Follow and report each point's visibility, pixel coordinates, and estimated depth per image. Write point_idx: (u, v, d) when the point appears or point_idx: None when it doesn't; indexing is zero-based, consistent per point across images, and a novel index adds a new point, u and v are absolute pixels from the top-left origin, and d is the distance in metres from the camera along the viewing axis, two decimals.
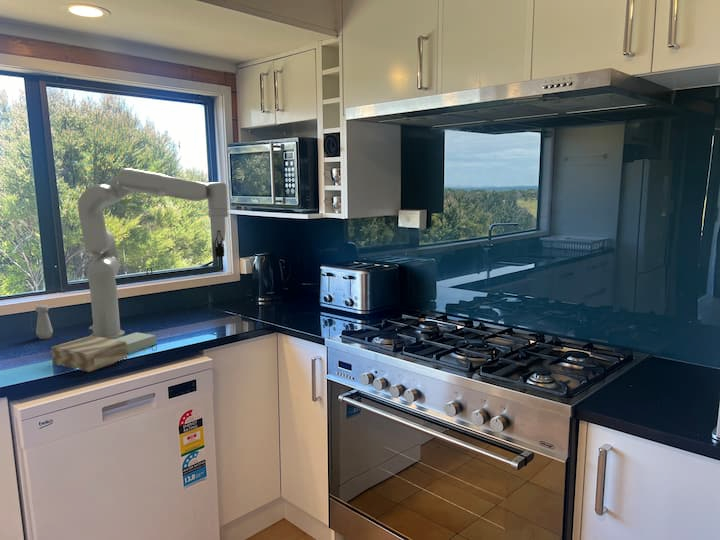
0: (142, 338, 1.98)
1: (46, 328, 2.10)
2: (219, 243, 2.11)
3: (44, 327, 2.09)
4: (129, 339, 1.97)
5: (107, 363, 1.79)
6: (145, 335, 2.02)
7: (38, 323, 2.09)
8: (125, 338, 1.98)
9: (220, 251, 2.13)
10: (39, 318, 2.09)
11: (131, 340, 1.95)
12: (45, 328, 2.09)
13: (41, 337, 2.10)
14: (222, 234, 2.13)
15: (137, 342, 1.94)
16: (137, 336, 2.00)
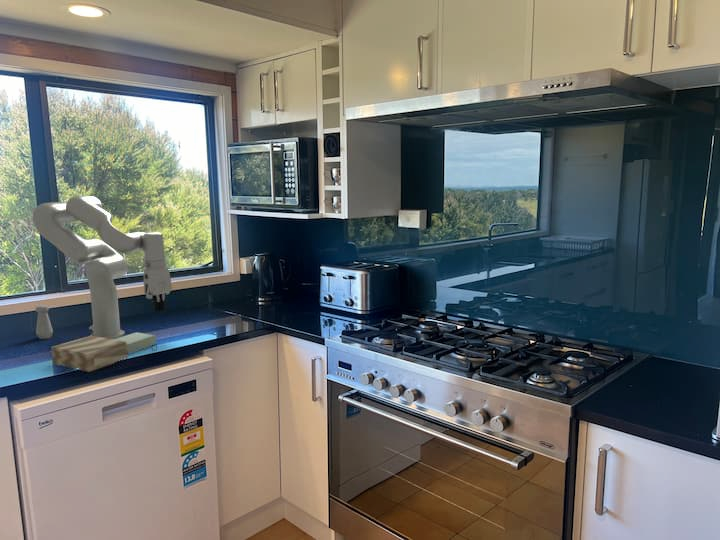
0: (142, 338, 1.98)
1: (46, 328, 2.10)
2: None
3: (44, 327, 2.09)
4: (129, 339, 1.97)
5: (107, 363, 1.79)
6: (145, 335, 2.02)
7: (38, 323, 2.09)
8: (125, 338, 1.98)
9: None
10: (39, 318, 2.09)
11: (131, 340, 1.95)
12: (45, 328, 2.09)
13: (41, 337, 2.10)
14: None
15: (137, 342, 1.94)
16: (137, 336, 2.00)
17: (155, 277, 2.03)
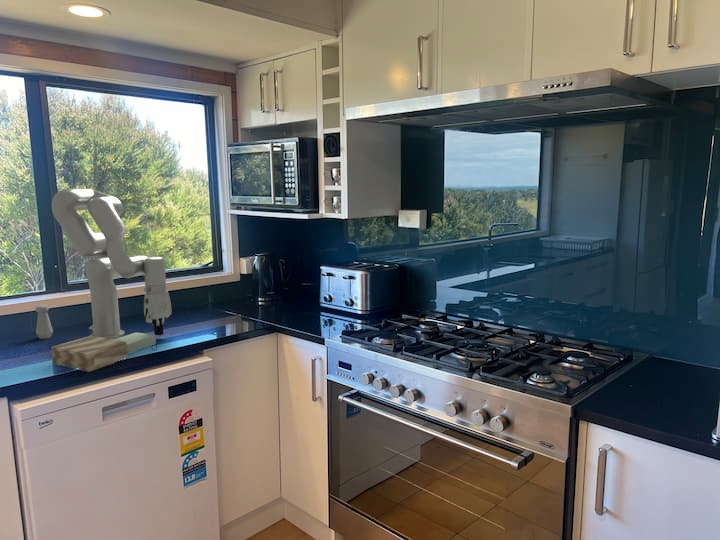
0: (142, 338, 1.98)
1: (46, 328, 2.10)
2: None
3: (44, 327, 2.09)
4: (129, 339, 1.97)
5: (107, 363, 1.79)
6: (145, 335, 2.02)
7: (38, 323, 2.09)
8: (125, 338, 1.98)
9: None
10: (39, 318, 2.09)
11: (131, 340, 1.95)
12: (45, 328, 2.09)
13: (41, 337, 2.10)
14: None
15: (137, 342, 1.94)
16: (137, 336, 2.00)
17: (156, 302, 2.04)
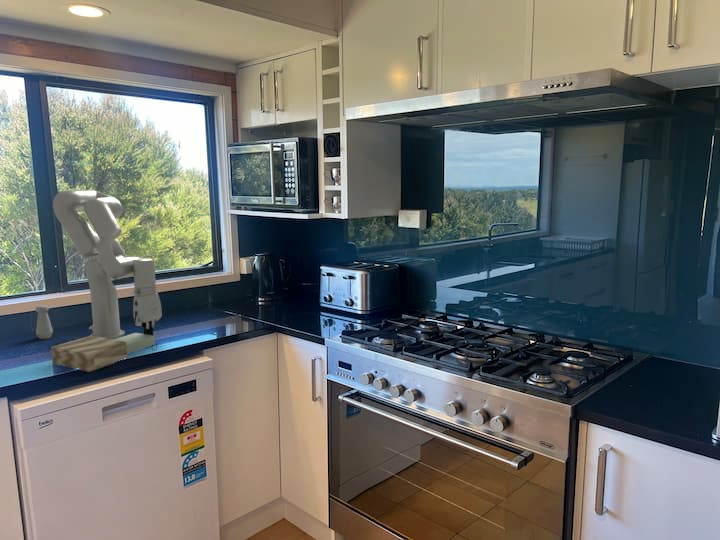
0: (141, 338, 1.97)
1: (46, 328, 2.10)
2: None
3: (44, 327, 2.09)
4: (128, 339, 1.96)
5: (107, 363, 1.79)
6: (144, 335, 2.01)
7: (38, 323, 2.09)
8: (124, 338, 1.97)
9: None
10: (39, 318, 2.09)
11: (130, 340, 1.95)
12: (45, 328, 2.09)
13: (41, 337, 2.10)
14: None
15: (136, 342, 1.94)
16: (136, 336, 2.00)
17: (145, 304, 1.99)
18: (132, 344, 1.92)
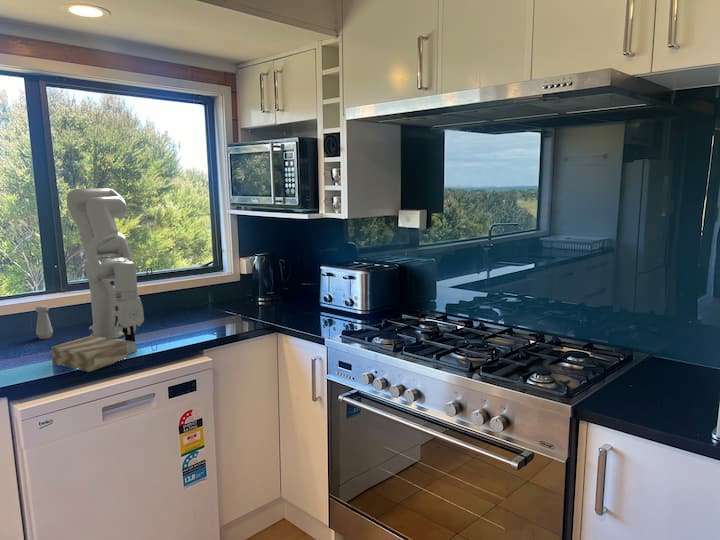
0: None
1: (46, 328, 2.10)
2: None
3: (44, 327, 2.09)
4: None
5: (107, 363, 1.79)
6: None
7: (38, 323, 2.09)
8: None
9: None
10: (39, 318, 2.09)
11: None
12: (45, 328, 2.09)
13: (41, 337, 2.10)
14: None
15: None
16: None
17: (126, 309, 1.92)
18: None
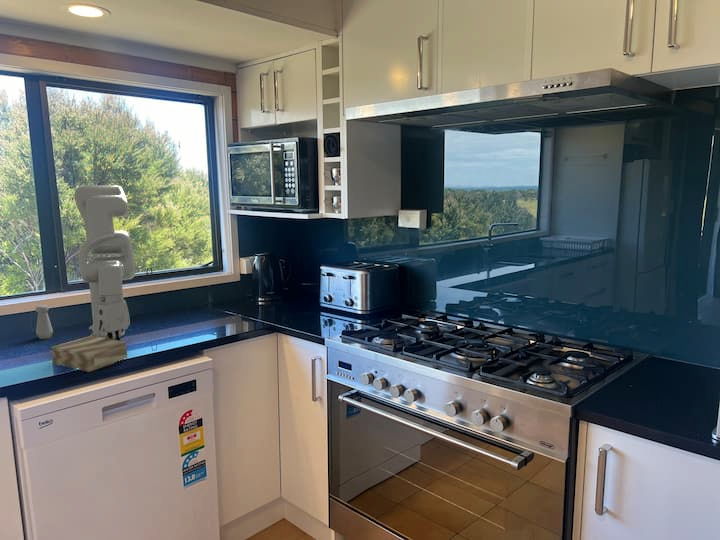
0: None
1: (46, 328, 2.10)
2: None
3: (44, 327, 2.09)
4: None
5: (107, 363, 1.79)
6: None
7: (38, 323, 2.09)
8: None
9: None
10: (39, 318, 2.09)
11: None
12: (45, 328, 2.09)
13: (41, 337, 2.10)
14: None
15: None
16: None
17: (111, 313, 1.86)
18: None
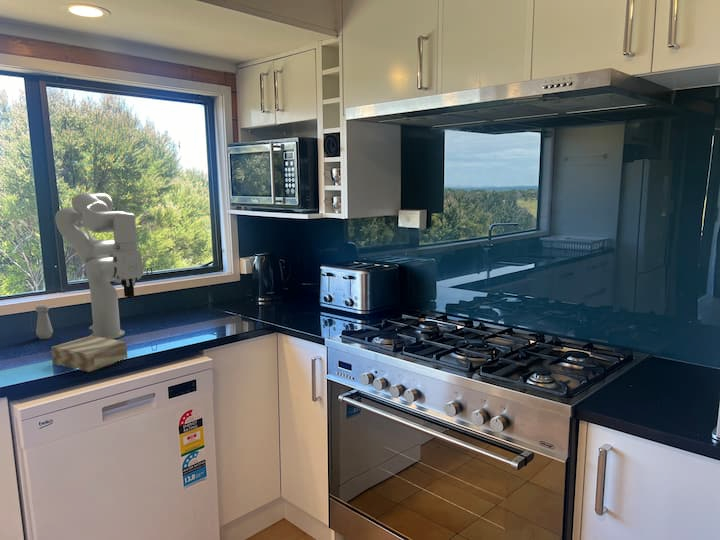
0: None
1: (46, 328, 2.10)
2: None
3: (44, 327, 2.09)
4: None
5: (107, 363, 1.79)
6: None
7: (38, 323, 2.09)
8: None
9: None
10: (39, 318, 2.09)
11: None
12: (45, 328, 2.09)
13: (41, 337, 2.10)
14: None
15: None
16: None
17: (125, 260, 1.90)
18: None
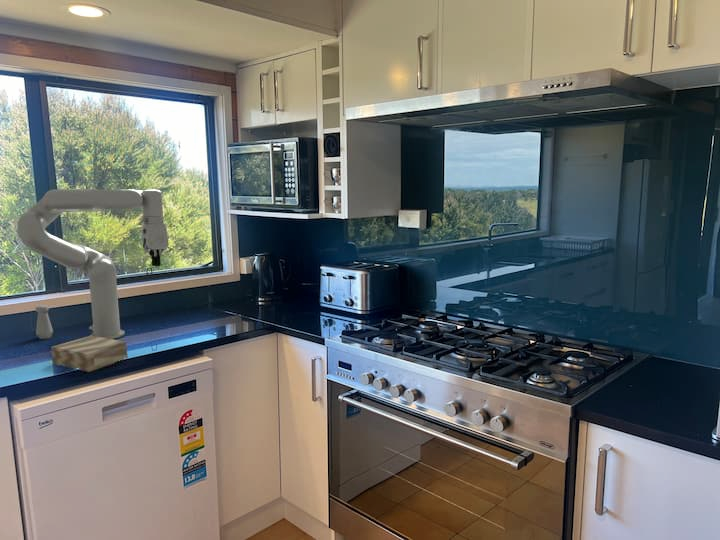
0: None
1: (46, 328, 2.10)
2: None
3: (44, 327, 2.09)
4: None
5: (107, 363, 1.79)
6: None
7: (38, 323, 2.09)
8: None
9: None
10: (39, 318, 2.09)
11: None
12: (45, 328, 2.09)
13: (41, 337, 2.10)
14: None
15: None
16: None
17: (153, 232, 2.12)
18: None
